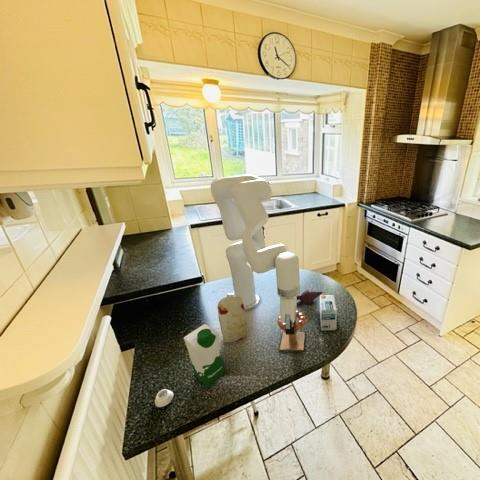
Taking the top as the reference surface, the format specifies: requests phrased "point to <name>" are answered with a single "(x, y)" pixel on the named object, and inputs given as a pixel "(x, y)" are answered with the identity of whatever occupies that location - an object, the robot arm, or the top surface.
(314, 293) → the dinosaur toy
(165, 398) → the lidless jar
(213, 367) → the milk carton
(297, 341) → the stand
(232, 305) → the food model
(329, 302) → the light bulb box
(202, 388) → the top surface
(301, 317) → the ring
